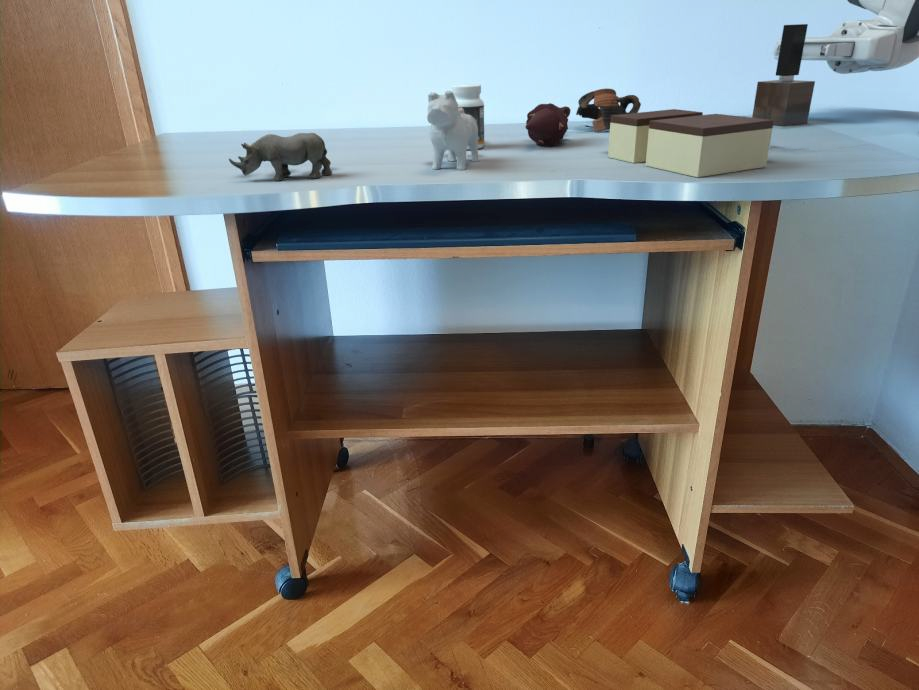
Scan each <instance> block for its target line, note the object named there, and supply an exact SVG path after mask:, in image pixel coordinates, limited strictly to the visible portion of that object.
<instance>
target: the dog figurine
mask: <svg viewBox="0 0 919 690" xmlns="http://www.w3.org/2000/svg"><path fill="white" fill-rule="evenodd" d="M427 101H428V104H427V116H426V119H427V122H428V124H430V128H429V129H430V130H429V138H430V142H431V145H432V147H433V159H432V166H431V168H432V170H441V169H442V164H443V160H444V155H445V153H446V151H448V154H447V155H448V156H447V161H448V162H456V170H459V171H463V170H466V169H467V168H466V164H467V163H466V160H467V150H466V148H467V146H469V147H470V153H471V161H472V162H479V149H478V127H477V123H476V121H475V120H474V118H473V117H472V116H471V115H468V114H465V113H464V109H462V108H460V109H458V103H457V101H456V99H455V96H454V94H453V91H451V90H446V91H445V92H444V94H438V93H437V92H432V91H431V92H429V93H428V95H427Z"/></svg>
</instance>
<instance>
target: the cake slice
mask: <svg viewBox="0 0 919 690" xmlns="http://www.w3.org/2000/svg"><path fill="white" fill-rule="evenodd" d="M699 115H704V112H702V111H695V110H686V109H676V108H671V109H662V110H661V109H660V110H653V111H639V112H638V113H630V114H620V115H611V120H610V122H611V123H610V129H609V138H608V151H607V152H608V153H607V157H608V158H609V159H614V160H619V161H623V162H626V163H627V162H628V163H632V164H637V163H646V155H647V144H648V133H649V122H650V121H652V120H662V119H671V118H681V117H690V116H699Z"/></svg>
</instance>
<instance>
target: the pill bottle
mask: <svg viewBox="0 0 919 690" xmlns="http://www.w3.org/2000/svg"><path fill="white" fill-rule="evenodd" d="M452 92H453V94H454V96H455V99H456V101H457V103H458V109H460V108H462V109H464V113H465V114H468V115H471V116H472V117H473V118H474V120H475V121H476V123H477V127H478V150H479V149H482V148H483V147H485V103H484V100H483V99H482V98H481V97H480V95H481V93H482V85H481V84H468V83H467V84H454V85H453V86H452ZM469 150H470V147H469V146H467V148H466V151H469ZM470 151H471V150H470Z"/></svg>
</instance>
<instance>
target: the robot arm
mask: <svg viewBox="0 0 919 690" xmlns="http://www.w3.org/2000/svg"><path fill="white" fill-rule="evenodd" d="M846 1H847V2H848V3H849V4H851V5H854V6H855V7H859V8H861V9H864V10H868V11H869V12H871V13H873V14H875V15H877V16H876V17H874V18H873V19H858V20H856V19H854V20H848V21H846V22H844V23H842V24H840V25H839V26H837V28H836V29H834V31H833V32H832V33H831V35H830V36H814V37H813V36H812V37H811V36H809V37H808V36H807V37H805V43H804V48H803V54H802V59H801V61H826V63H827V65H828V67H829V68H830V69H831V70H832V71H833V72H834V73H836V74H842V75H847V74H860V73H866V72H882V71H891V70H895V69H899V68H902V67H905V66H907V65H909V64H911V63H913V62H914V61H916V60H917V59H918V58H919V0H846ZM781 39H782V38H779V39H777V40H776V42H775V44H774V49H773V50H774V51H773V59H774V60H776V61H778V57H779V51H780V45H781Z"/></svg>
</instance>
